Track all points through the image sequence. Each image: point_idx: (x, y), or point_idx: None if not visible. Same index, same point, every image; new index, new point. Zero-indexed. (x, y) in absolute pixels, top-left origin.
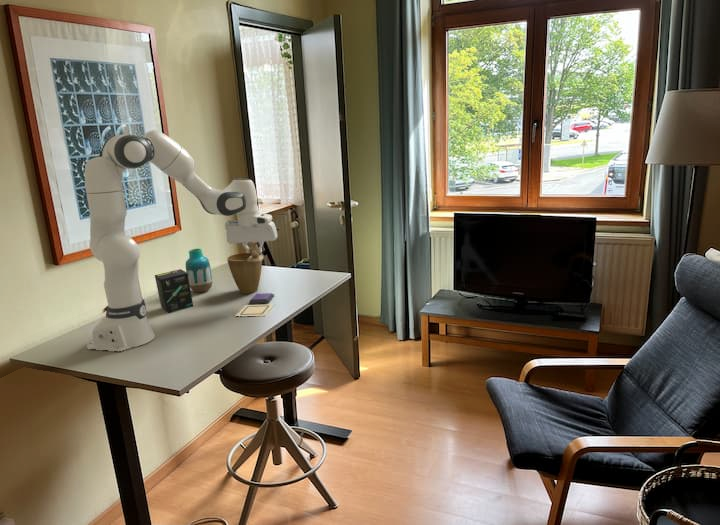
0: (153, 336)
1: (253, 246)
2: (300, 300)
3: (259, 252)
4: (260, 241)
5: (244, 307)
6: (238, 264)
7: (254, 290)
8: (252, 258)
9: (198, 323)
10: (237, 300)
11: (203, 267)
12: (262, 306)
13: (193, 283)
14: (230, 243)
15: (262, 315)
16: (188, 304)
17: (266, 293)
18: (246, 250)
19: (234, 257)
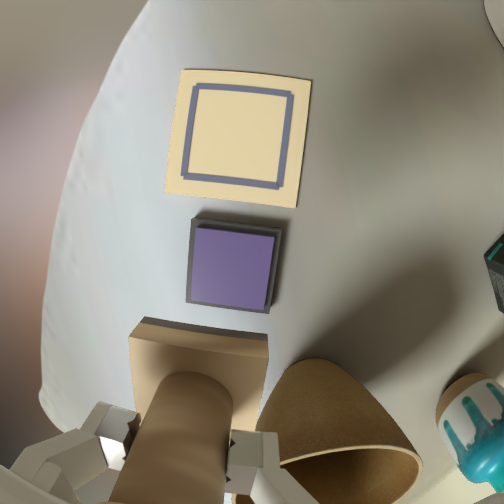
0: (490, 16)
1: (146, 470)
2: (80, 228)
3: (122, 409)
4: (2, 467)
5: (294, 178)
6: (362, 428)
7: (286, 371)
8: (209, 356)
9: (427, 67)
10: (344, 287)
11: (487, 431)
12: (211, 174)
13: (494, 382)
14: (494, 495)
15: (192, 70)
16: (498, 248)
17: (215, 302)
18: (278, 456)
19: (378, 499)
